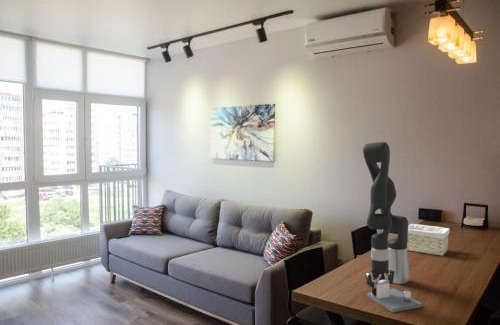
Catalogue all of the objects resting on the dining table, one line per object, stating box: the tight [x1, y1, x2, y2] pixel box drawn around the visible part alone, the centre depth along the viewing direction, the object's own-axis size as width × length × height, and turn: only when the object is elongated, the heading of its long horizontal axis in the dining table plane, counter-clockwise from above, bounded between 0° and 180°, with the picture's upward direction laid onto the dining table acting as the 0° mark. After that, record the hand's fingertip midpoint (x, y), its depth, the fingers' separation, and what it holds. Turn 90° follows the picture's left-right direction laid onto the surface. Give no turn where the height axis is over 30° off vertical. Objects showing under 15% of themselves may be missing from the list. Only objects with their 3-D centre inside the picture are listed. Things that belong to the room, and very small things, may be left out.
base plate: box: [366, 287, 423, 313], centre depth 171 cm, size 15×18×2 cm
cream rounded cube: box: [370, 280, 390, 299], centre depth 174 cm, size 6×6×6 cm
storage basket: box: [407, 223, 451, 256], centre depth 243 cm, size 24×16×15 cm
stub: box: [402, 290, 412, 302], centre depth 168 cm, size 3×3×4 cm
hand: (380, 294), depth 174 cm, fingers closed on cream rounded cube, 5 cm apart
